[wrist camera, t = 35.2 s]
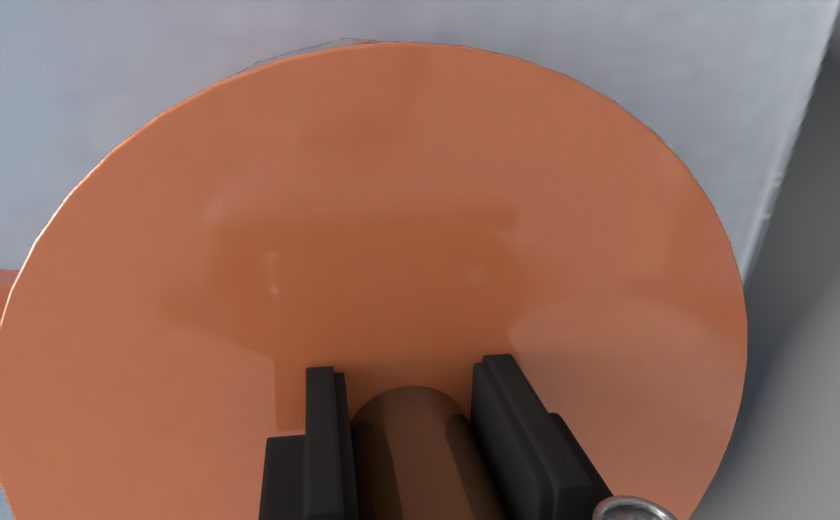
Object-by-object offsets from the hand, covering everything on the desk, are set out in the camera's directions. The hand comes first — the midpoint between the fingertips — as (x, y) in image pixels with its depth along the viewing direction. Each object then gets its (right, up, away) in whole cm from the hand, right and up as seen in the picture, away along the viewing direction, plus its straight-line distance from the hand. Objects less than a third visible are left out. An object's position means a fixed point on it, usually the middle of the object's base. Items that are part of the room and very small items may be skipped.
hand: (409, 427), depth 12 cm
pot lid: (0, 0, +1) cm, 1 cm away
